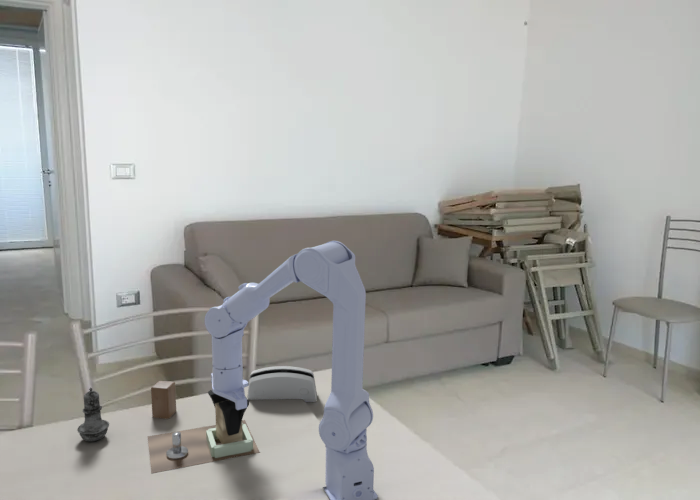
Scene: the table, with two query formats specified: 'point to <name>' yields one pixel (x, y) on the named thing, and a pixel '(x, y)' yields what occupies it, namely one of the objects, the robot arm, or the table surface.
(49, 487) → the table surface
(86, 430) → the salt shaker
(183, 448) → the metal post
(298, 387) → the white rounded block
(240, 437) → the maple peg
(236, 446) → the socket collar
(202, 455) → the walnut board
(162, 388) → the wooden block
